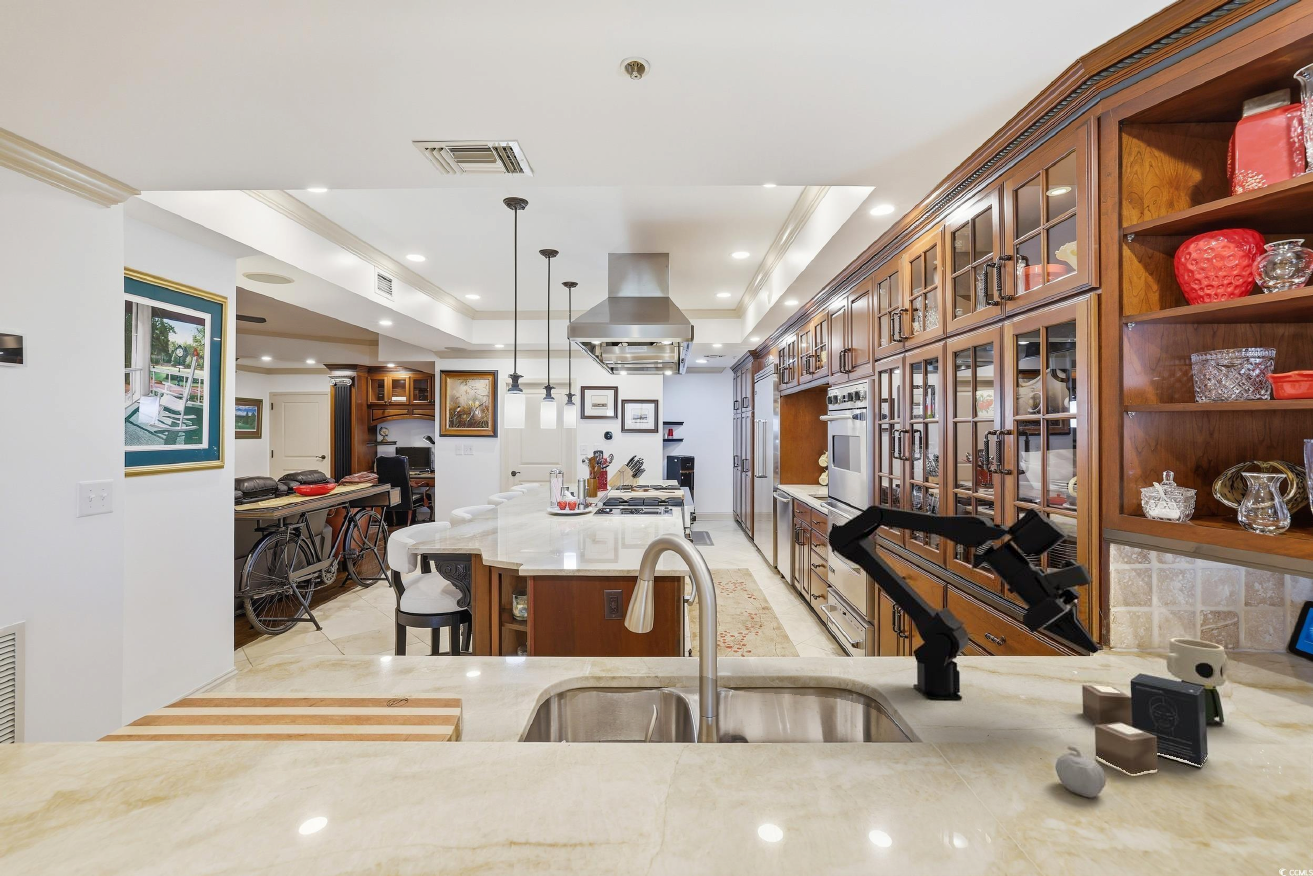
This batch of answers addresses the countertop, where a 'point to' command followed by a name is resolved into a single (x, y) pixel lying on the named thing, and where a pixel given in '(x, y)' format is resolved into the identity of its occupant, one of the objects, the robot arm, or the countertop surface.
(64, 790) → the countertop surface
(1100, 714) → the walnut cube far
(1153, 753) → the walnut cube near
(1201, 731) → the box
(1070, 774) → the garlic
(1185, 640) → the character mug
